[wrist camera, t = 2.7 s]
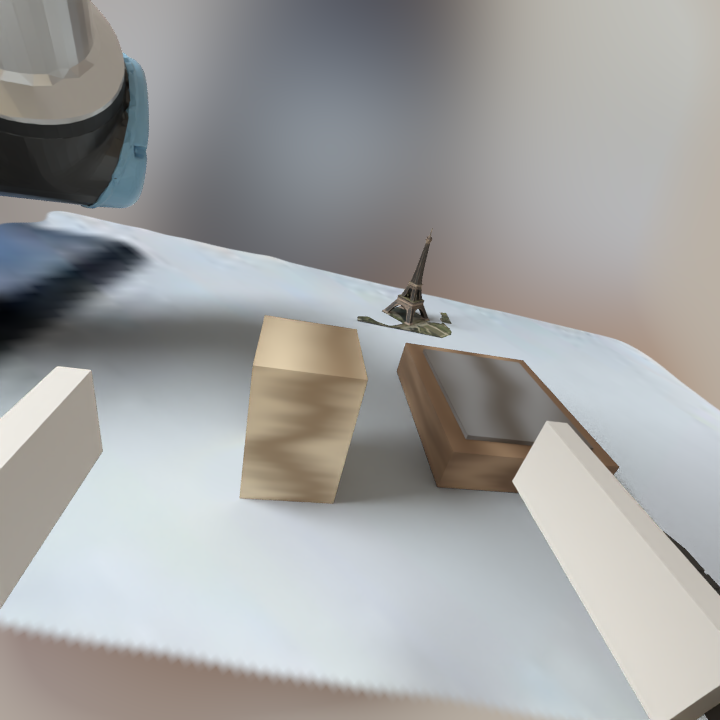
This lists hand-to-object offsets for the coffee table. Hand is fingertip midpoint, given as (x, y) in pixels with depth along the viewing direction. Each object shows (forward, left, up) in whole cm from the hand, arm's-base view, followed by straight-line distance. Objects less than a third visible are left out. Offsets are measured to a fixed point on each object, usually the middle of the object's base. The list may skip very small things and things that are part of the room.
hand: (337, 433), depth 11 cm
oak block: (0, +11, -13) cm, 17 cm away
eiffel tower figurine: (+15, +42, -14) cm, 47 cm away
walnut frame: (+18, +18, -13) cm, 29 cm away
